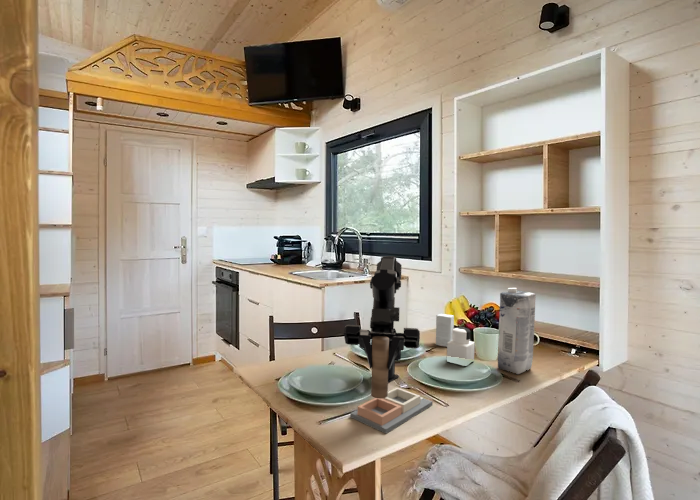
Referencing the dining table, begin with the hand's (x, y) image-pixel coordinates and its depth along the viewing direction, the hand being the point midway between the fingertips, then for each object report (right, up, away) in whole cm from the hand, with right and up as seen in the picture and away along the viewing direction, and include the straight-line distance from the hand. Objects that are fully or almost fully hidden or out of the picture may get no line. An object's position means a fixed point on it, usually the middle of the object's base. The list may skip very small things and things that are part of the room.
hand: (379, 368), depth 95 cm
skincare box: (+30, -10, +63) cm, 71 cm away
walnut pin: (0, -7, +2) cm, 7 cm away
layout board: (+4, -13, +6) cm, 15 cm away
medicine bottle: (+31, -11, +44) cm, 55 cm away
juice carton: (+48, -12, +38) cm, 62 cm away
